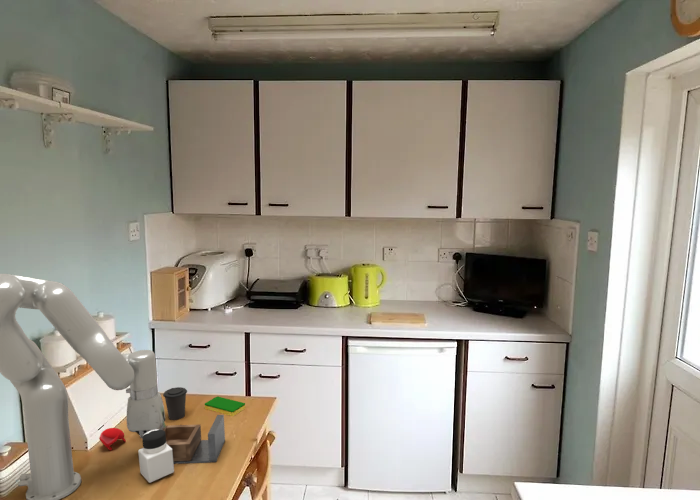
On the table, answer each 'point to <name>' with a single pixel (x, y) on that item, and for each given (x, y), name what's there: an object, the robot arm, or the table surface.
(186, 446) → the open wooden box
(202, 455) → the track
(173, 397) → the coffee cup
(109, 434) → the red curved legged piece
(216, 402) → the dish sponge
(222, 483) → the table surface
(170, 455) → the medicine bottle
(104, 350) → the robot arm
